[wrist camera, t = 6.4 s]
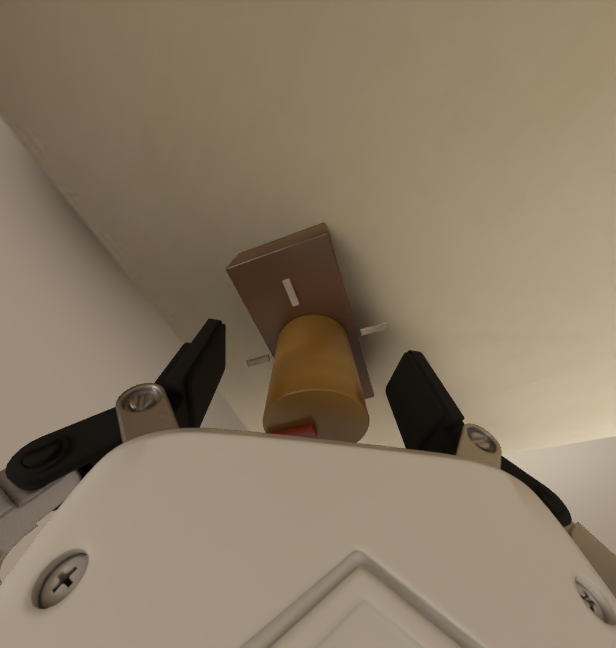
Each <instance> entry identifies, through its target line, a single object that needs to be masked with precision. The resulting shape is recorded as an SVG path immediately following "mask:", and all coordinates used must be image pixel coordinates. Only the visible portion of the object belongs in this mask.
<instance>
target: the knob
mask: <svg viewBox="0 0 616 648" xmlns="http://www.w3.org/2000/svg"><path fill="white" fill-rule="evenodd" d="M263 427H264V430H265V433H269V434H279V435H288V436H298V437H307V438H316V439H325V440H335V441H344V442H353V443H357V442H358V441H359V440H360V439H361V438H362V437H363V436H364V435H365V433H366V432H367V429H368V427H369V415H368V411H367V407H366V403H365V399H364V396H363V392H362V388H361V384H360V380H359V376H358V372H357V369H356V365H355V361H354V357H353V353H352V349H351V345H350V341H349V338H348V334H347V332H346V331H345V329H344V328H343V327H342V325H340V324H339V323H338V322H337V321H335V320H333V319H331V318H329V317H326V316H322V315H305V316H301V317H299V318H296V319H294V320H292V321H291V322H289V323H288V324H287V325H286V326H285V327H284V328H283V329H282V331H281V332H280V334H279V337H278V341H277V347H276V352H275V357H274V363H273V368H272V373H271V379H270V384H269V389H268V395H267V400H266V405H265V411H264V416H263Z"/></svg>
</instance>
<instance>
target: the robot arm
mask: <svg viewBox="0 0 616 648" xmlns="http://www.w3.org/2000/svg"><path fill="white" fill-rule="evenodd" d="M225 331H226V327H225V324H222V321H221V320H215V319H208V320H207V322H206V323H205V324H204V326H203V327H202V329H201V330H200V331H199V333H198V334H197V336H196V337H195V338H194V340H193V341H192V343H185V344H184V345H183V346H182V347H181V348H180V350H179V351H178V353H177V354H176V355H175V356H174V358H173V359H172V360H171V362H170V363H169V364H168V366H167V367H166V368H165V370H164V371H163V372H162V374H161V375H160V376H159V378H158V379H157V380H156V382H155V383H144V384H140V385H137V386H134V387H132V388H130V389H128V390H127V391H125V392H124V393H123V394H122V395H121V396H120V397H119V398H118V400H117V402H116V407H114V408H112V409H109V410H107V411H104V412H102V413H100V414H97V415H94V416H92V417H89V418H87V419H85V420H82V421H80V422H77V423H75V424H72V425H70V426H67V427H65V428H62V429H60V430H57V431H55V432H53V433H50V434H47V435H45V436H42V437H40V438H38V439H36V440H34V441H32V442H30V443H29V444H27V445H26V446H24V447H23V448H21V449H20V450H19V451H18V452H17V453H16V454H15V455H14V456H13V457H12V458H11V460H10V461H9V463H8V464H7V467H6V468H5V469H4V470H2V471H0V568H1V565H2V562H3V560H4V559H5V557H6V556H7V554H8V553H9V551H10V550H11V549H12V548H13V547H14V546H15V545H16V544H17V543H18V542H19V541H20V540H21V539H22V538H23V537H24V536H26V535H27V534H28V533H30V532H31V531H32V530H33V529H34V528H36V527H37V526H38V525H37V524H36V523H37V522H38V521H40V520H41V519H42V518H43V517H44V516H46V515H47V514H48V513H50V512H51V511H54V510H57V511H56V512H55V513H54V514H53V516H52V517H51V518H50V520H49V521H48V522H47V524H46V525H45V526H44V528H43V529H42V530H41V532H40V533H39V535H38V536H37V537H36V539H35V540H34V541H33V542H32V544H31V545H30V546H29V548H28V549H27V550H26V552H25V553H24V554H23V556H22V557H21V559H20V560H19V561H18V562H17V564H16V565H15V566H14V568H13V569H12V570H11V572H10V573H9V574H8V576H7V577H6V578H5V580H4V581H3V583H2V582H1V581H0V648H616V556H615V555H614V554H613V553H612V552H611V551H610V550H609V549H608V548H607V547H605V546H604V545H603V544H602V543H601V542H600V541H599V540H598V539H597V538H595V537H594V536H593V535H592V534H591V533H590V532H589V531H588V530H587V529H585V528H584V527H583V526H582V525H581V524H580V523H579V522H577V523H573V522H572V521H571V520H572V519H571V515H570V513H569V511H568V509H567V507H566V506H565V505H564V503H563V502H562V501H561V500H560V498H559V497H558V496H557V495H556V494H555V493H554V492H552V491H551V490H550V489H548V488H547V487H546V486H544V485H543V484H541V483H540V482H539V481H537V480H536V479H534V478H533V477H531V476H530V475H529V474H527V473H526V472H524V471H523V470H521V469H520V468H518V467H517V466H516V465H514V464H513V463H511V462H510V461H508V460H507V459H505V458H504V457H503V456H501V453H502V452H501V447H500V445H499V443H498V442H497V440H496V439H495V438H494V437H493V436H492V435H491V434H490V433H489V432H488V431H486V430H485V429H483V428H482V427H480V426H478V425H475V424H464V423H463V420H464V416H463V415H462V413H461V411H460V410H459V408H458V407H457V405H456V404H455V402H454V401H453V399H452V398H451V396H450V395H449V393H448V392H447V390H446V389H445V387H444V386H443V384H442V383H441V381H440V380H439V378H438V377H437V375H436V374H435V372H434V371H433V369H432V368H431V366H430V365H429V363H428V362H427V360H426V358H425V357H424V355H423V354H422V353H421V352H418V351H411V350H409V351H408V352H406V353H404V355H403V356H402V358H401V360H400V362H399V364H398V366H397V368H396V369H395V371H394V373H393V375H392V377H391V379H390V381H389V383H388V384H387V386H386V395H387V398H388V401H389V404H390V406H391V409H392V412H393V415H394V417H395V420H396V423H397V425H398V428H399V431H400V434H401V436H402V439H403V442H404V445H405V447H406V449H405V448H396V447H388V446H379V445H370V444H361V443H353V442H344V441H335V440H325V439H316V438H307V437H298V436H288V435H279V434H269V433H260V432H250V431H238V430H227V429H216V428H200V425H201V423H202V421H203V418H204V416H205V414H206V411H207V409H208V407H209V405H210V402H211V400H212V398H213V396H214V393H215V391H216V389H217V386H218V384H219V382H220V379H221V377H222V375H223V373H224V370H225ZM85 555H87V556H88V557H87V556H85Z"/></svg>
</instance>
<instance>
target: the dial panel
mask: <svg viewBox="0 0 616 648" xmlns="http://www.w3.org/2000/svg"><path fill="white" fill-rule="evenodd" d="M226 271H227V273H228V275H229V277H230V278H231V280H232V282H233V284H234V286H235V288H236V289H237V291H238V293H239V295H240V297H241V298H242V300H243V302H244V304H245V306H246V308H247V309H248V311H249V313H250V315H251V317H252V318H253V320H254V322H255V324H256V326H257V327H258V329H259V331H260V333H261V335H262V337H263V338H264V340H265V342H266V344H267V346H268V347H269V349H270V351H271V353H272V355H273V357H275V352H276V347H277V341H278V337H279V334H280V332H281V331H282V329H283V328H284V327H285V326H286V325H287V324H288V323H289V322H291V321H292V320H294V319H296V318H299V317H301V316H305V315H322V316H326V317H329V318H331V319H333V320H335V321H337V322H338V323H339V324H340V325H342V327H343V328H344V329H345V331H346V332H347V334H348V338H349V341H350V345H351V349H352V353H353V357H354V361H355V365H356V369H357V372H358V376H359V380H360V384H361V388H362V392H363V396H364V399H367V398H372V397H374V392H373V389H372V385H371V382H370V378H369V374H368V371H367V367H366V364H365V360H364V356H363V353H362V349H361V346H360V342H359V339H358V335H357V331H356V328H355V324H354V321H353V317H352V313H351V310H350V306H349V303H348V299H347V296H346V292H345V288H344V285H343V281H342V278H341V274H340V270H339V267H338V263H337V260H336V256H335V253H334V249H333V245H332V242H331V238H330V235H329V232H328V229H327V227H326V224H325V223H322V224H319V225H316V226H313V227H311V228H308V229H305V230H302V231H300V232H297V233H294V234H292V235H289V236H286V237H283V238H281V239H278V240H275V241H273V242H270V243H267V244H264V245H262V246H259V247H256V248H254V249H251V250H248V251H245V252H243V253H240V254H239V255H238V256H237V257H236V258H235V259H234V260H233V261H232V262H231V263H230V264H229V265H228V266H227V267H226ZM385 329H388V327H387V323H386V322H384V323H381V324H377V325H374V326H370V327H366V328H363V329H360V332H361V335H362V336H363V335H367V334H371V333H374V332H378V331H382V330H385ZM267 361H270V357H269V356H268V355H265V356H261V357H258V358H254V359H250V360H247V361H246V363H247V365H248V366H252V365H256V364H260V363H263V362H267Z"/></svg>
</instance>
